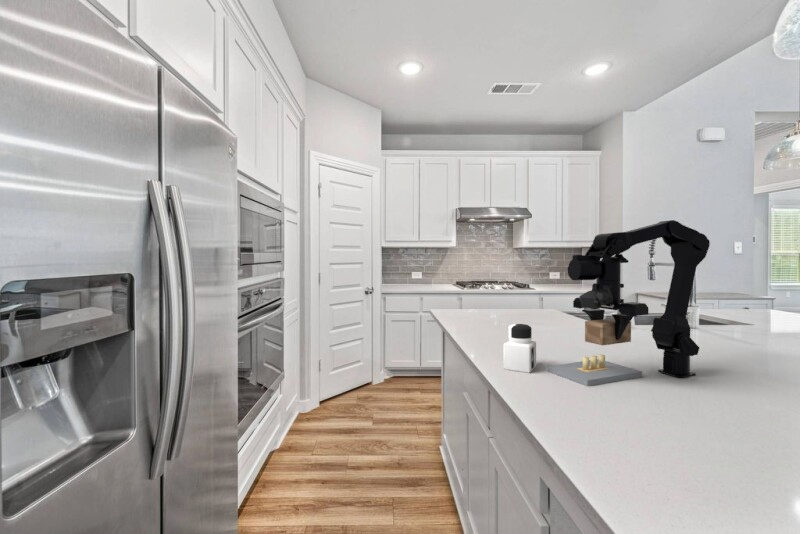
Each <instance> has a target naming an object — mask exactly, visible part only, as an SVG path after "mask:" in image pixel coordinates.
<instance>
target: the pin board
mask: <svg viewBox="0 0 800 534" xmlns="http://www.w3.org/2000/svg"><path fill="white" fill-rule="evenodd" d="M547 372H548V373H551V374H553V375H556V376H559V377H561V378H564V379H566V380H569V381H572V382H575V383H577V384H580V385H582V386H585V387H592V386H596V385H603V384H607V383H608V384H609V383H614V382H618V381H626V380H631V379H637V378H642V377H643V371H642V370H639V369H636V368H632V367H629V366H625V365H622V364H618V363H615V362H610V361H607V360H606V355H605V354H598V356H597V355H590V357H589V356H582V361H577V362H576V361H574V362H569V363H562V364H555V365H549V366H547Z"/></svg>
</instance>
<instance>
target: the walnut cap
mask: <svg viewBox="0 0 800 534" xmlns="http://www.w3.org/2000/svg"><path fill="white" fill-rule="evenodd" d="M584 342H585V343H590V344H594V345H598V346H608V345H609V346H610V345H616V344H623V343H624V344H625V343H631V342H632V320H631V321H630V322H629V324H628V325H627V327H626V329H625V331H624V332H623V334H622V336H621V338H620V339H619V340H616V337H615V319H614V318H604V319H602V320H592V321H591V320H586V321H585V320H584Z"/></svg>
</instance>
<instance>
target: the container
mask: <svg viewBox="0 0 800 534" xmlns="http://www.w3.org/2000/svg"><path fill="white" fill-rule="evenodd" d="M507 328H508V329H507V330H508V340H507V341H506V342H505V343H503V353H502V354H503V359H502V360H503V370H506V371H512V372H519V373H526V374H530V373H531V372H532V371H533V370H534V369H535V368H536V367H537V342H536V341H534V340H532V327H531V326H530V325H529V324H525V323H512V324H510V325H508V327H507Z"/></svg>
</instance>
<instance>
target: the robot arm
mask: <svg viewBox="0 0 800 534" xmlns="http://www.w3.org/2000/svg"><path fill="white" fill-rule="evenodd" d="M659 238H660V239H661V238H662V241H663V242H664V244H666V245H667V246H668V247H670V256H671V259H672V261H673V263H674V266H673V271H672V276H671V279H670V280H671V281H670V285H669V291H668V295H667V299H666V305H665V309H664V313H663V314H662V315H661V316H660V317H654V318H653V321H652V322H653V323H652V328H651V330H650V332H651V333H652V335H651V336H652V339H653V340H654V342H655V345H656V348H657V349H658V350H662V351H663V357H662V368H661V369H657V372H658V373H662V374H665V375H669V376H673V377H677V378H680V379H683V378H687V377H694V376H696V375H697V374H696V373H695V372H691V357H694V356H697V355H698V354H699V351H700V346H699V345H698V344H696V342H695V341H694V340H693V339H692V338H691V326H690V324H689V322H688V318H687V313H688V309H689V306H690V299H691V294H692V291H693V284H694V281H695V280H694V279H695V276H696V271H697V267H698V266H699V265H700V264H701V263H702V261H703V260H704V259H706V257H707V253H708V251H709V249H710V244H711V243H710V239H709V238H708V237H707V235H706V234H704V233H701V232H700V231H698V230H696V229H694V228H691V227H690V226H686V225H683V224H681V223H680V222H679V221H677V220H674V219H673V220H670V219H669V220H664V221H663V220H662V221H659V222H656V223H653V224H650V225H646V226H643V227H638V228H634V229H632V230H628V231H627V230H626V231H622V232H609V233H599V234H596V235H595V236H594V238H593V241H592V244H591V245H590V247H589V248H588V250H587V251H586V253H585V254H584V255H583V254H573V255H572V259H571V260H570V262H569V264H568V266H567V273H568V274H567V275H568V278H569V279H571V280H572V281H594V280H596V282H594V283H592V285H591V287H592V289H590V290H588V291H586V292H584V293H582V294H581V295H579V297H575V298H574V299H573V301H572V304H573V306H572V307H573V308H575V309H581V311H582V312H583V313H585V314H586V315H587V316H588V317H589V319H590V321H592V320H602V319H605V311H606V310H611V311H613V310H614V311H617V313H614V314H611V315H612V319H615V337H616V340H619V339H620V338H621V336H622V334H623V332H624V331H625V329H626V327H627V325H628V324H629V322H630V321H631V322H632V320H633V318H634V317H637V316H646V315H649V306H648V305H647V303H646V302H645V303H644V302H635V301H630V302H624V301H625V300H624V299H623V298H621V288H622V289H623V288H625V283H621V271H622V269H621V267H622V266H621V264H625V263H627V264H628V263H629V260H628V259H627V258H626V257H624V256H623V254H622V253H624V252H626V251H629V250H630V248H632V247H633V246H635V245H638V244H642V243H645V242H646V243H647V242H649V241H652V240H656V239H659Z"/></svg>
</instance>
